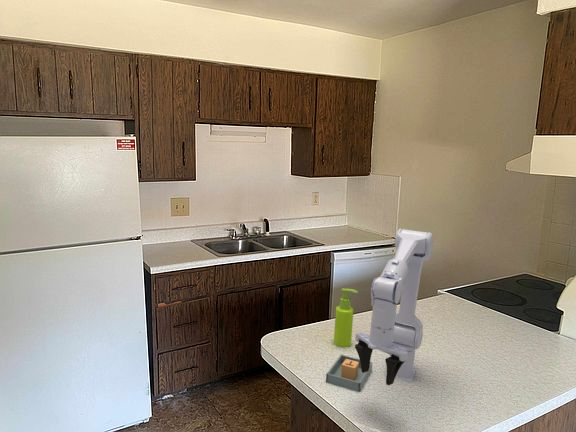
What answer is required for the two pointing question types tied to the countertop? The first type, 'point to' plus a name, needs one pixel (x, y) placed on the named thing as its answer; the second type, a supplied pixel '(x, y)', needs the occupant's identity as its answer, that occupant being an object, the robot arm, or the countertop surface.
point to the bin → (336, 379)
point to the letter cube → (349, 369)
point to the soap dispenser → (344, 320)
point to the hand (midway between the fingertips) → (377, 377)
